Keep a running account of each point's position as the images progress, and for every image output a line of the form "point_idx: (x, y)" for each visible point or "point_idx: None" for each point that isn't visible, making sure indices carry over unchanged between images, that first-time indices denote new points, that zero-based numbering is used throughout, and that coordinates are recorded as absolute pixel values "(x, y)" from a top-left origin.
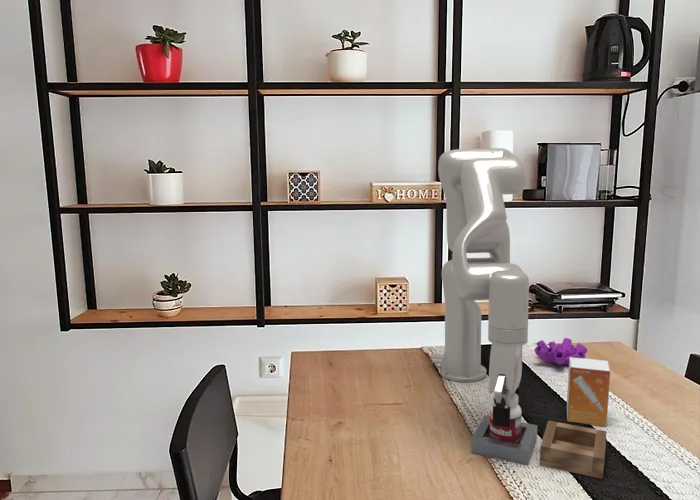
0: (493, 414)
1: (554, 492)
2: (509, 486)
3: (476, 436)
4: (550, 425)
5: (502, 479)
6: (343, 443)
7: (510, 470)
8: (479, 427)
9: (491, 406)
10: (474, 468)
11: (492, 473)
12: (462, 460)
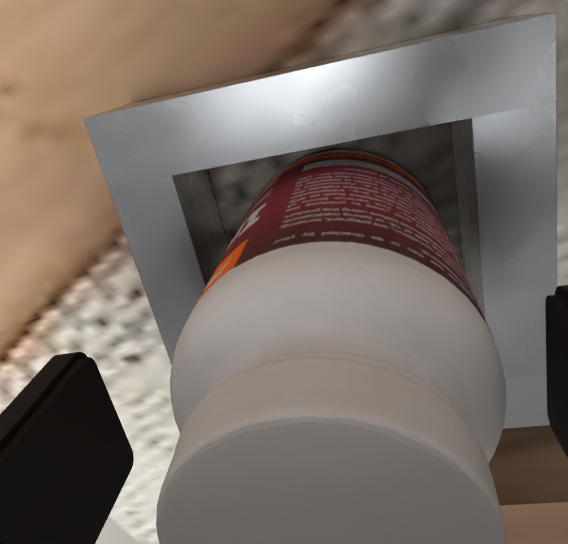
0: (4, 419)
1: (114, 508)
2: (18, 377)
3: (140, 136)
4: (532, 520)
5: (38, 339)
6: None
7: (129, 345)
8: (289, 87)
9: (244, 295)
10: (10, 195)
11: (43, 287)
12: (21, 98)
